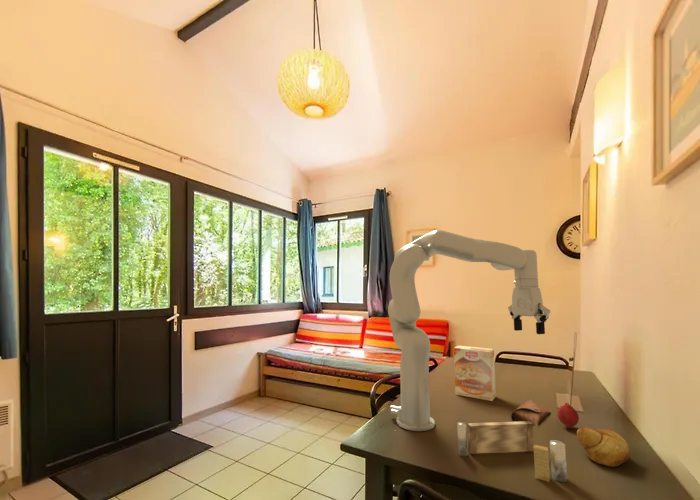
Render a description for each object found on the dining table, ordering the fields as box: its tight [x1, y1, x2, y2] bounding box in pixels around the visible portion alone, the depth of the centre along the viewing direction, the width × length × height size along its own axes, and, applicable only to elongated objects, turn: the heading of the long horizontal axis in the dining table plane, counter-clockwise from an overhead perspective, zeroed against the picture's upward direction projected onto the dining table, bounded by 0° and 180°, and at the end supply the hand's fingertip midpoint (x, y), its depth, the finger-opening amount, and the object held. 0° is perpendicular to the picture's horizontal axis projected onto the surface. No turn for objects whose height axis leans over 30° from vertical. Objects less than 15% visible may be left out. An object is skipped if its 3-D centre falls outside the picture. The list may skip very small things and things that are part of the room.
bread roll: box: [576, 426, 631, 467], centre depth 90 cm, size 13×10×8 cm
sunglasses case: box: [510, 398, 552, 427], centre depth 119 cm, size 18×7×7 cm
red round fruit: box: [557, 401, 580, 429], centre depth 109 cm, size 6×6×8 cm
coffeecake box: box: [453, 345, 497, 402], centre depth 141 cm, size 15×7×20 cm, turn 56°
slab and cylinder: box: [533, 439, 568, 483], centre depth 81 cm, size 7×5×8 cm
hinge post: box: [456, 421, 468, 458], centre depth 92 cm, size 2×2×8 cm
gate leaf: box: [466, 421, 535, 455], centre depth 93 cm, size 18×2×7 cm, turn 95°
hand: (529, 332), depth 120 cm, fingers open, 9 cm apart
